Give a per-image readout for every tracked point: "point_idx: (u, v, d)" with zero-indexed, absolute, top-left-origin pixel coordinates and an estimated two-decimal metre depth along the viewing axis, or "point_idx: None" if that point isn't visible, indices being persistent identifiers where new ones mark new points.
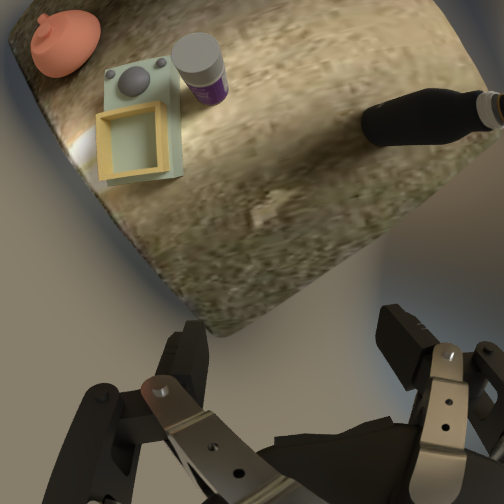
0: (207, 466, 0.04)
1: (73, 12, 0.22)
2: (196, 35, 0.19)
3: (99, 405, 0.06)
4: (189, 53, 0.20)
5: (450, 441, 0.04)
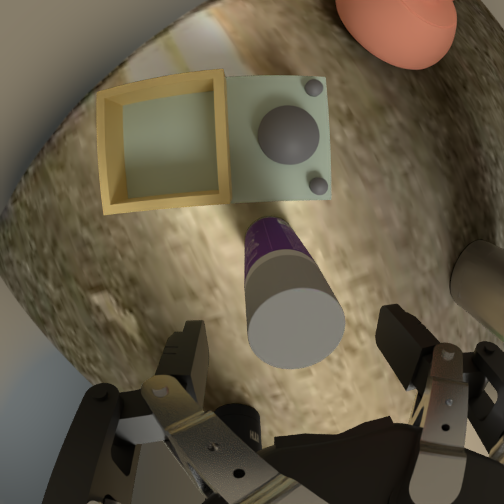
0: (207, 466, 0.04)
1: (451, 37, 0.14)
2: (337, 330, 0.12)
3: (98, 405, 0.06)
4: (295, 323, 0.12)
5: (450, 441, 0.04)
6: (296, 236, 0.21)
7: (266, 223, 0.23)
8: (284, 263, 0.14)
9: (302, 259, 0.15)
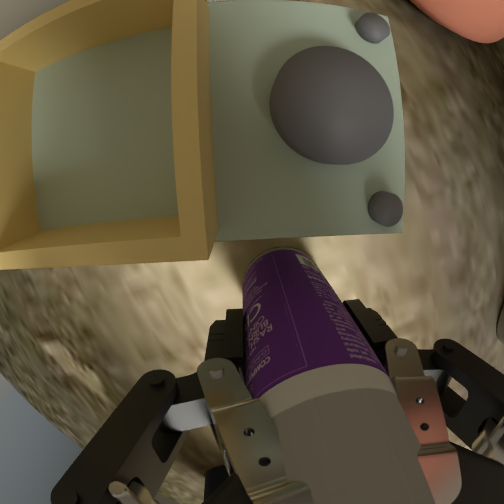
0: (237, 449, 0.05)
1: None
2: None
3: (152, 391, 0.07)
4: None
5: None
6: (335, 295, 0.11)
7: (279, 265, 0.13)
8: (347, 432, 0.04)
9: (379, 399, 0.05)
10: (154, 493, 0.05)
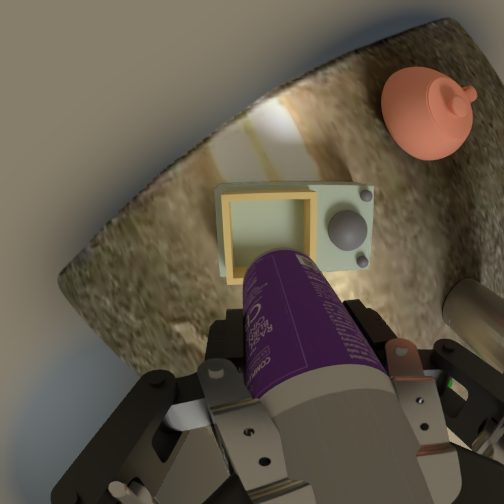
0: (237, 449, 0.05)
1: (464, 140, 0.24)
2: None
3: (152, 391, 0.07)
4: None
5: None
6: (335, 296, 0.11)
7: (280, 266, 0.13)
8: (347, 433, 0.04)
9: (379, 400, 0.05)
10: (154, 493, 0.05)
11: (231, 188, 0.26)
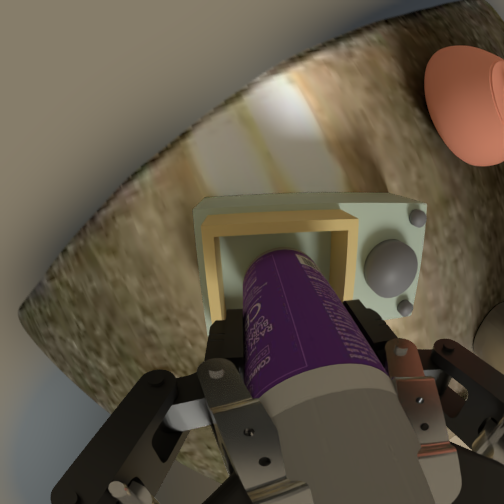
0: (237, 449, 0.05)
1: None
2: None
3: (152, 391, 0.07)
4: None
5: None
6: (335, 295, 0.11)
7: (280, 265, 0.13)
8: (347, 433, 0.04)
9: (379, 399, 0.05)
10: (154, 493, 0.05)
11: (219, 209, 0.17)
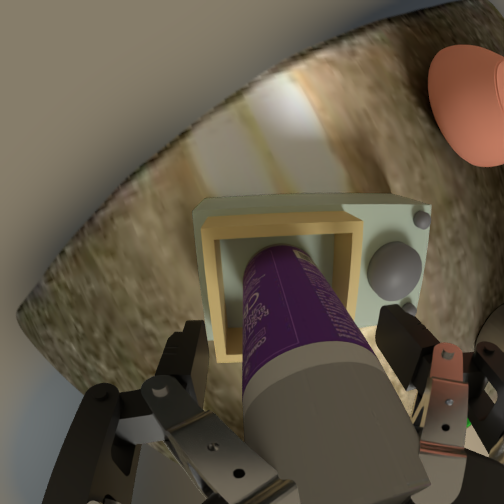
0: (207, 466, 0.04)
1: None
2: None
3: (99, 405, 0.06)
4: None
5: (450, 441, 0.04)
6: (329, 286, 0.12)
7: (277, 259, 0.14)
8: (333, 398, 0.05)
9: (364, 372, 0.06)
10: None
11: (219, 211, 0.16)
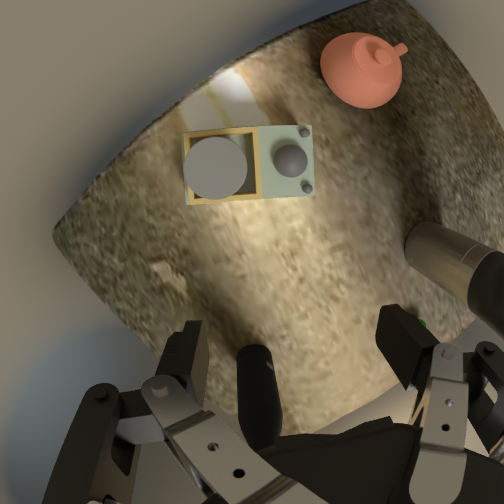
0: (207, 466, 0.04)
1: (396, 87, 0.29)
2: (241, 167, 0.19)
3: (99, 405, 0.06)
4: (212, 160, 0.18)
5: (450, 441, 0.04)
6: None
7: None
8: None
9: None
10: None
11: None
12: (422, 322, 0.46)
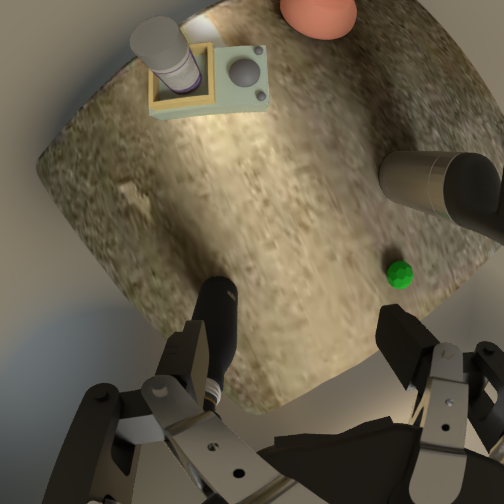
0: (207, 466, 0.04)
1: (348, 15, 0.28)
2: (174, 32, 0.17)
3: (99, 405, 0.06)
4: (152, 30, 0.17)
5: (450, 441, 0.04)
6: None
7: None
8: None
9: None
10: None
11: None
12: (407, 264, 0.44)
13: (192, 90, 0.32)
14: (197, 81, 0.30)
